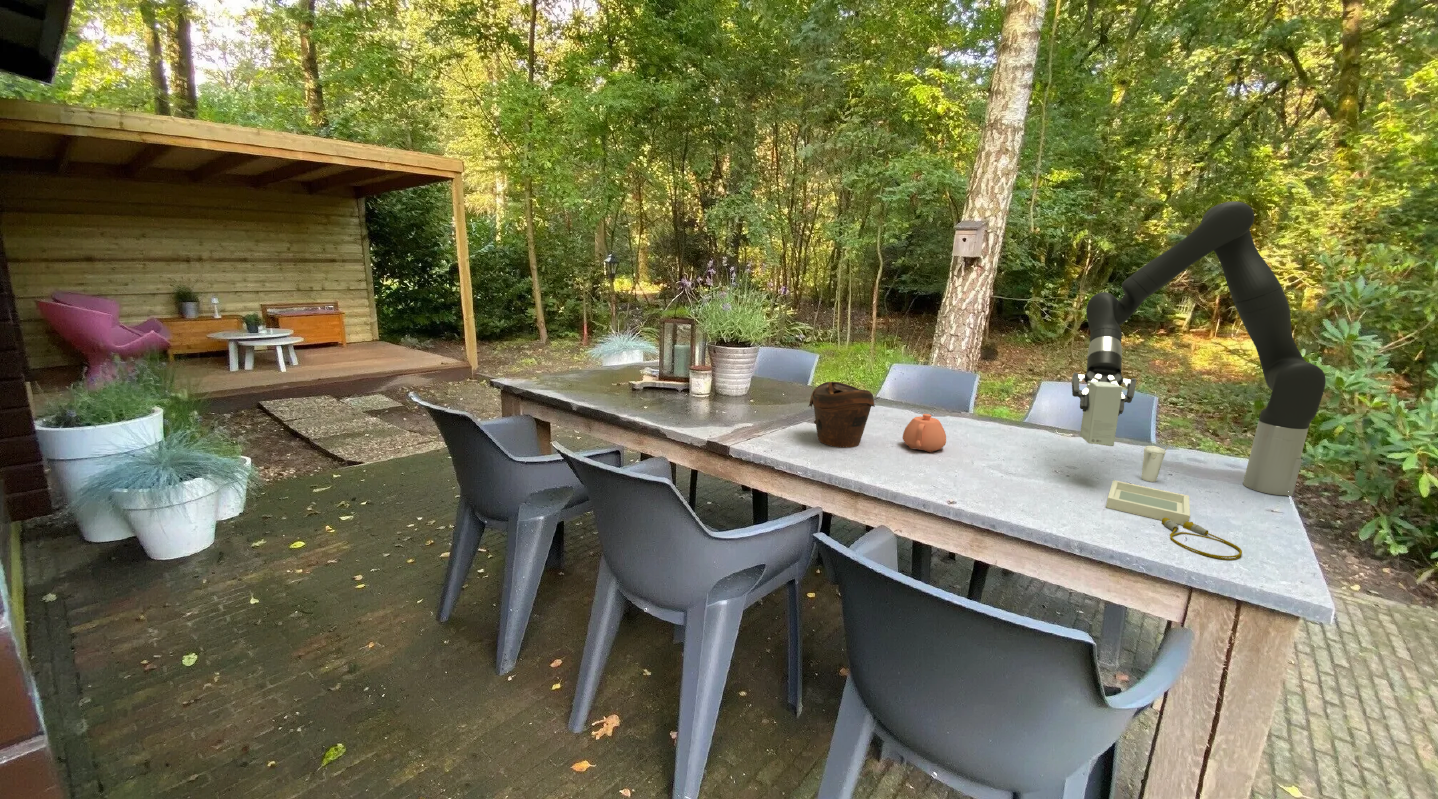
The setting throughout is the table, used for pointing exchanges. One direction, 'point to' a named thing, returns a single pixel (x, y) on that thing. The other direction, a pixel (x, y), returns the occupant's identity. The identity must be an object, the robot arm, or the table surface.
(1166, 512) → the shallow cream tray
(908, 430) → the sugar bowl
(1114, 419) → the skincare box
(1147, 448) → the milkshake
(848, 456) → the table surface
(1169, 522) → the extension cord
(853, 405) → the case
